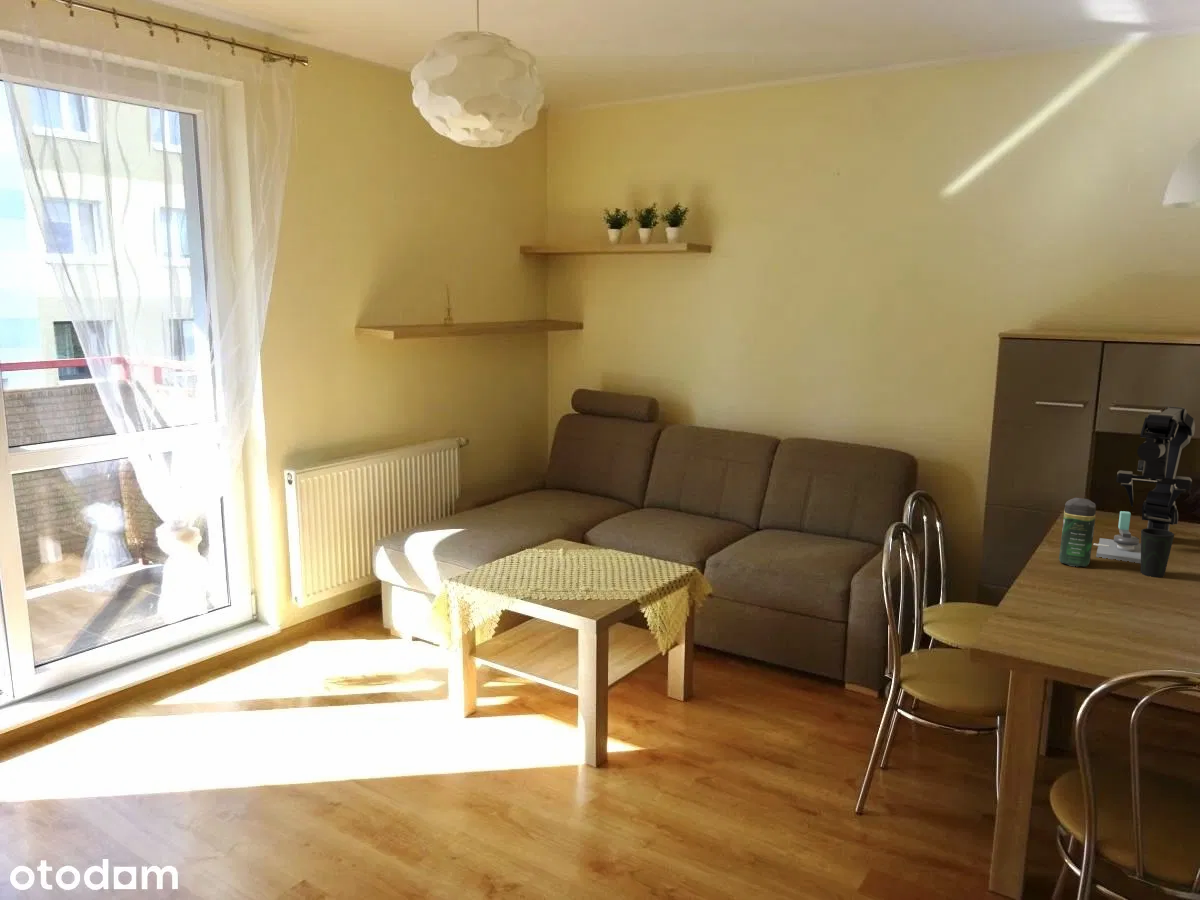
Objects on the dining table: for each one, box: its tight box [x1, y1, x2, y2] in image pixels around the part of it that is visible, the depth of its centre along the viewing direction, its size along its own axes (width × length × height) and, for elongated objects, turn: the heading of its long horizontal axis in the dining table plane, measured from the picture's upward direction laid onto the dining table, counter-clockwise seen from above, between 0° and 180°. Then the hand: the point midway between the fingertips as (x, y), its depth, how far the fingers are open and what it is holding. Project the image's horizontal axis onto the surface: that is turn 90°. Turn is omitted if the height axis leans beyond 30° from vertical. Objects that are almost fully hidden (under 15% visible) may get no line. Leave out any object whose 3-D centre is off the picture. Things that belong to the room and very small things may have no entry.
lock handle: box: [1113, 510, 1140, 545], centre depth 260 cm, size 6×10×8 cm, turn 159°
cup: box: [1140, 527, 1175, 578], centre depth 240 cm, size 8×8×12 cm
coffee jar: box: [1058, 497, 1097, 567], centre depth 249 cm, size 10×8×19 cm
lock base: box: [1092, 537, 1141, 564], centre depth 260 cm, size 18×15×3 cm
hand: (1149, 508), depth 260 cm, fingers open, 9 cm apart
